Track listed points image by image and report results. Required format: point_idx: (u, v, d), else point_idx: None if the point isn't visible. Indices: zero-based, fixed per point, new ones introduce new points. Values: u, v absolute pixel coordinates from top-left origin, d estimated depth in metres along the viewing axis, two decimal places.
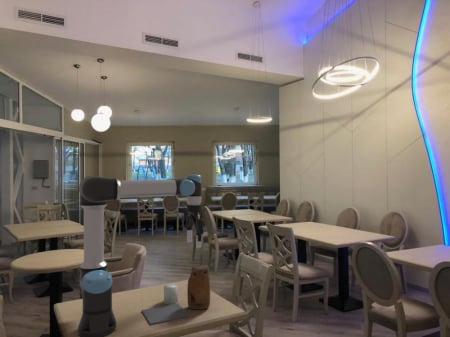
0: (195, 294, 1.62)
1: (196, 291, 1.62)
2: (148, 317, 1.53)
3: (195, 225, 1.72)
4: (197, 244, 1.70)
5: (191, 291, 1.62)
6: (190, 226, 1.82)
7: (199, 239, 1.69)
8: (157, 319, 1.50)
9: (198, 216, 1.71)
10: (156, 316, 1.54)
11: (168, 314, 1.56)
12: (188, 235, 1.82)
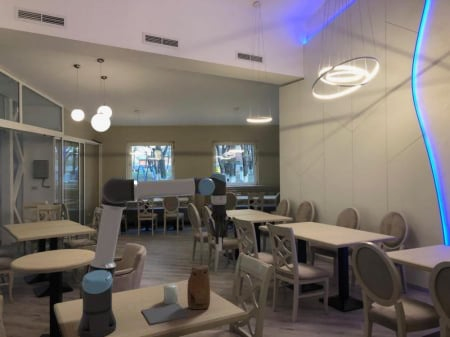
0: (195, 294, 1.62)
1: (196, 291, 1.62)
2: (148, 317, 1.53)
3: None
4: (217, 246, 1.71)
5: (191, 291, 1.62)
6: (220, 231, 1.71)
7: (215, 242, 1.70)
8: (157, 319, 1.50)
9: (208, 220, 1.68)
10: (156, 316, 1.54)
11: (168, 314, 1.56)
12: None
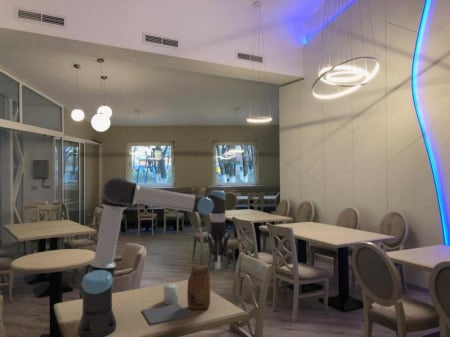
0: (195, 294, 1.62)
1: (196, 291, 1.62)
2: (148, 317, 1.53)
3: None
4: (215, 264, 1.71)
5: (191, 291, 1.62)
6: (219, 248, 1.71)
7: (214, 259, 1.70)
8: (157, 319, 1.50)
9: (207, 238, 1.68)
10: (156, 316, 1.54)
11: (168, 314, 1.56)
12: None
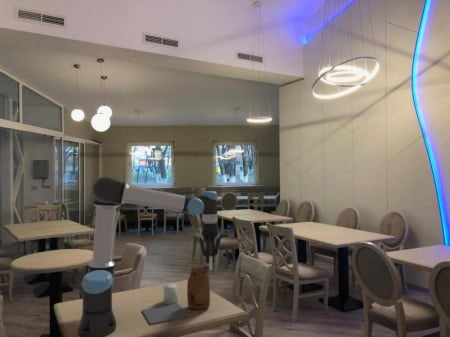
0: (195, 294, 1.62)
1: (195, 291, 1.62)
2: (148, 317, 1.53)
3: (205, 245, 1.69)
4: (207, 265, 1.69)
5: (191, 291, 1.62)
6: (211, 249, 1.69)
7: (206, 261, 1.68)
8: (157, 319, 1.50)
9: (198, 239, 1.66)
10: (156, 316, 1.54)
11: (168, 314, 1.56)
12: None
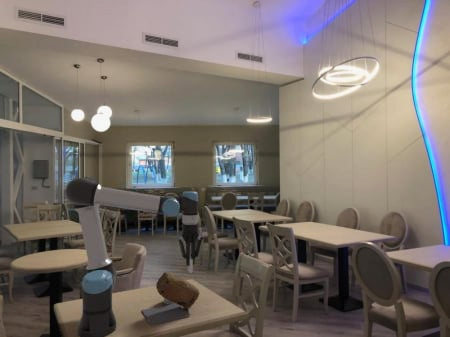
0: (180, 299, 1.59)
1: (177, 298, 1.58)
2: (148, 317, 1.53)
3: (186, 247, 1.64)
4: (188, 268, 1.64)
5: (175, 301, 1.59)
6: (191, 251, 1.64)
7: (186, 263, 1.63)
8: (157, 319, 1.50)
9: (178, 241, 1.61)
10: (156, 316, 1.54)
11: (168, 314, 1.56)
12: None
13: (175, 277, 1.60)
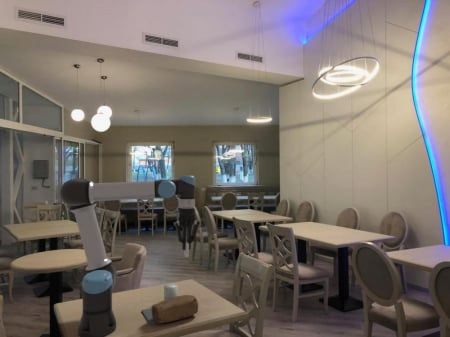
0: None
1: None
2: (148, 317, 1.53)
3: (182, 231, 1.63)
4: (184, 252, 1.63)
5: None
6: (187, 236, 1.63)
7: (182, 247, 1.62)
8: None
9: None
10: None
11: None
12: None
13: (169, 314, 1.47)
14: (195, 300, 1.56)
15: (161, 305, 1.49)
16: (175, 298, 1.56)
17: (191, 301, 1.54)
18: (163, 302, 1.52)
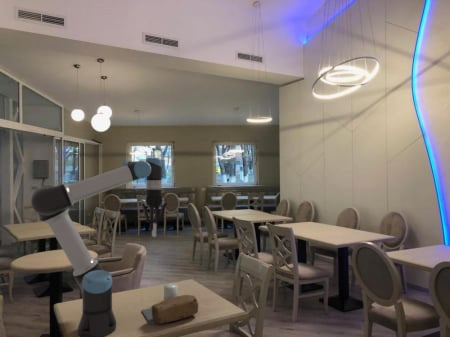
0: None
1: None
2: (148, 317, 1.53)
3: None
4: (152, 232, 1.68)
5: None
6: (155, 216, 1.68)
7: (150, 227, 1.67)
8: None
9: (141, 205, 1.65)
10: None
11: None
12: None
13: (169, 314, 1.47)
14: (195, 300, 1.55)
15: (161, 305, 1.49)
16: (175, 298, 1.56)
17: (191, 301, 1.53)
18: (163, 302, 1.52)
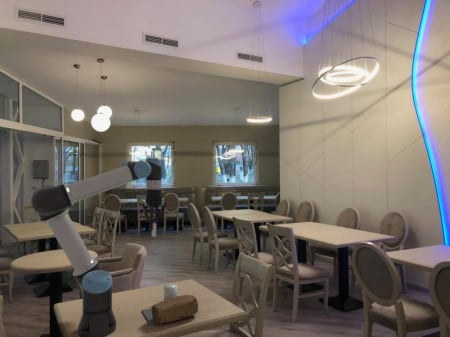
0: None
1: None
2: (148, 317, 1.53)
3: None
4: (152, 232, 1.68)
5: None
6: (155, 216, 1.68)
7: (150, 227, 1.67)
8: None
9: (141, 205, 1.65)
10: None
11: None
12: None
13: (169, 314, 1.47)
14: (195, 300, 1.55)
15: (161, 305, 1.49)
16: (175, 298, 1.56)
17: (191, 301, 1.53)
18: (163, 302, 1.52)
